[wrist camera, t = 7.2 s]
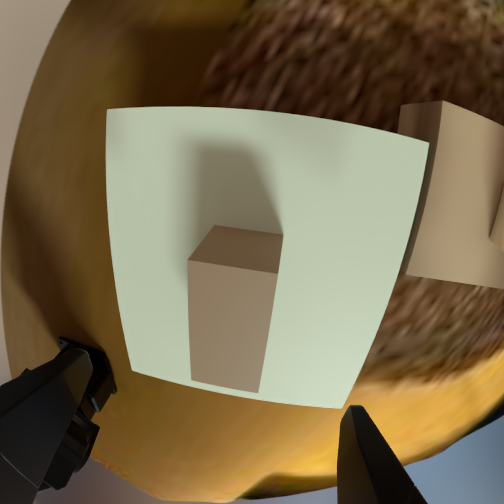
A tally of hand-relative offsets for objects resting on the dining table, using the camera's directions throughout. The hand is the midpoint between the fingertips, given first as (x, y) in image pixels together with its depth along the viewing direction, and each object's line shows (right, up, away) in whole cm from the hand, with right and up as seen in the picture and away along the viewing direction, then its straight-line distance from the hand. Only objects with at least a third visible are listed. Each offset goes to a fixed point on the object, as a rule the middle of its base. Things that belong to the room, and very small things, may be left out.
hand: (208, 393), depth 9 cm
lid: (+1, +3, +7) cm, 8 cm away
